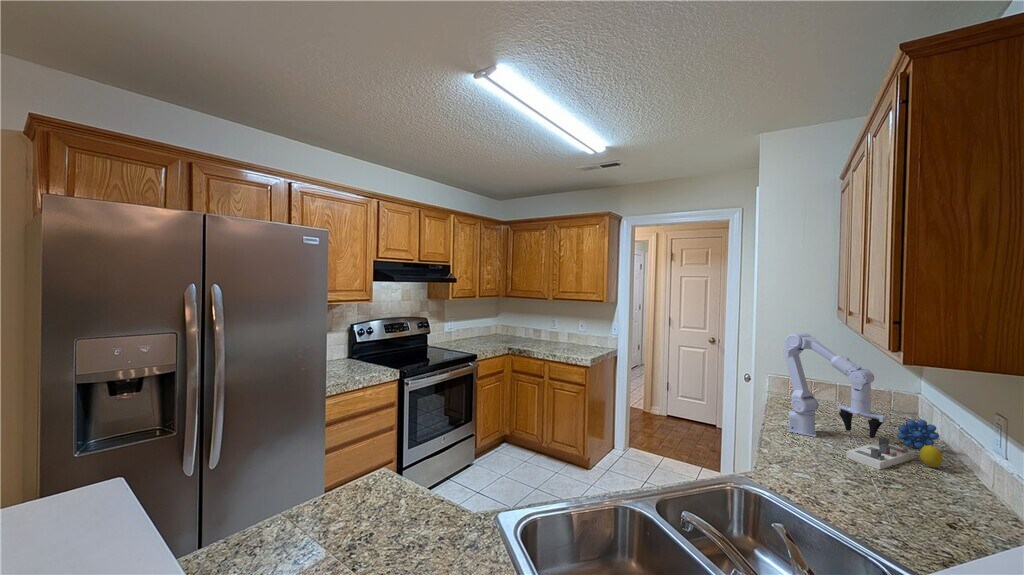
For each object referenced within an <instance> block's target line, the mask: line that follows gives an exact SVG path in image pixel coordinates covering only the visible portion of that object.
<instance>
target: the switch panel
mask: <svg viewBox="0 0 1024 575" xmlns="http://www.w3.org/2000/svg"><path fill="white" fill-rule="evenodd" d="M879 446H880V444H879V441H876V442H874V443H871V444H867V445H864V446H859V447H856V448H853V449H848V450H846V458H847V459H850V460H852V461H855V462H858V463H861V464H864V465H866V466H869V467H871V468H875V469H878V470H883V469H886V468H889V467H893V466H895V465H898V464H902V463H905V462H908V461H911V460H914V459H915V451H913V450H910V449H909V448H907V447H905V448H902V447H899V446H896V445H893V444H890V443H889V445H888V446H890V453H887V454H886V453H882V452H881V456H879V457H878V459H877V458H874V457H871V450H872V449H879ZM892 465H893V466H892Z"/></svg>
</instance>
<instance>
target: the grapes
mask: <svg viewBox="0 0 1024 575" xmlns="http://www.w3.org/2000/svg"><path fill="white" fill-rule="evenodd" d="M904 423H905V424H900V425H899V426H898V427H897V429H898V431H899V432H897V434H896V437H897V438H898V439H899V440H902V443H903V445H904V446H906V447H912V446H913V447H914V448H915V449H917V450H921V448H922V447H924V446H929V445H932V446H933V447H934V445H935V441H934V440H938V439H939V438H940V434H939V433H938V432H936V430H937V427H936V425H934V424H931V423H930V424H928V422H927V421H926V420H924V419H918V420H917V421H915V420H913V419H908V420H906V421H905V422H904Z"/></svg>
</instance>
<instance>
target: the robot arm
mask: <svg viewBox="0 0 1024 575" xmlns="http://www.w3.org/2000/svg"><path fill="white" fill-rule="evenodd" d="M783 340H784V348H783V355H784V359H785V362H786V367H787V370H788V375H789V377H790V382H791V385H792V389H793V392H792V393H791V396H790V398H791V402H790V405H791V408H792V409H791V410H789V412H788V420H789V421H788V422H787V426H788V432H789V433H792V432H793V434H797V433H798V434H799V435H803V436H809V437H814V438H816V437H817V432H816V411H817V410H818V409H819V406H820V404H819V401H818V400H817V399H816V398H815V395H814V392H811V390H810V389H809V386H808V382H807V379H806V376H805V372H804V368H803V365H802V361H801V357H800V354H801V353H803V351H804V350H812V351H814V352H815V353H817V354H819V355H820V356H821V357H823V358H825V359H826V360H828V361H830V364H831V366H832V367H833V368H835V369H836V370H838V371H839V372H840V373H842V374H843V375H845V376H846V378H847V380H848V381H849V382H850V384H851V385H850V386H851V387H850V406H846V405H842V404H838V405H837V411H839V412H838V415H839V416H840V417H841V419H842V422H843V424H844V427H845V431H847V432H851V431H852V420H853V415H855V416H859V417H864V418H867V419H868V420H867V422H868V427H869V428H868V429H869V435H868V436H869V439H875V438H876V436H877V432H878V430H879V429H880V427H881V426H882V425H883V424H884V423H885V422H886V416H884V415H881V414H879V413H874V412H873V411H871V404H872V400H871V399H872V384H871V383H873V382H874V380H875V375H874V373H873V372H872V371H871V370H870V369H867V368H862V366H861V365H858V364H856V363H854V362H853V361H852V360H850V357H848V356H844V355H838V354H836V353H834V352H833V351H832V350H831V349H830V348H828V347H826V346H825V345H824V344H823V343H821V342H820V341H819V340H818V339H817V338H816V337H814V336H812V335H811V334H810V333H807V332H802V333H790V334H788V335H787V336H786V337H785V338H784V339H783Z"/></svg>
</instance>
